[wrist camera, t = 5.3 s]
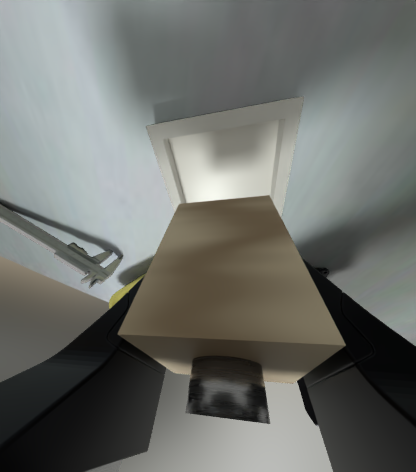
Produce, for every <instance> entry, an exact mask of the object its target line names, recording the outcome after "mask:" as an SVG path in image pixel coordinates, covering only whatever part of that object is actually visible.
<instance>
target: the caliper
mask: <svg viewBox="0 0 416 472" xmlns="http://www.w3.org/2000/svg"><path fill="white" fill-rule="evenodd" d="M0 222H2V223H3V224H5V225H7V226H8V227H10V228H12V229H14V230H15V231H17V232H19V233H20V234H22V235H24V236H25V237H27V238H29V239H30V240H32V241H34V242H35V243H37V244H39V245H41V246H42V247H44V248H46V249H47V250H49V251H51V252H52V253H54V258H56V259H57V260H59V261H61V262H62V263H64V264H66V265H67V266H69V267H70V268H72V269H74V270H75V271H77V272H79V273H80V274H82V275H84V276H85V275H86V274H89V275H87V276H86V277H85V278H83V279H82V280H81V284H83V283H86V282H89V281H90V280H91V282H90V285H89V289H90V288H91V287H92V286H93V285H94V284H95V283H99V284H102V283H103V282H104V281H105V280H106V279H108V278H109V277H110V276H111V275H112V274H113V273H114V271H115V270H116V268H117V267H118V265H119V264H120V262H121V260H122V256H119V257H118V258H117V259H116V260H114V261H113V262H112V263H111V264H109V265H108V266H107V267H105V268H103V267H102V266H100V264H101V263H102V262H104V261H105V260H106V259H107V258H109V256H111V255H112V253H113V251H111V250H109V251H106V252H103V253H101V254H98V255H96V256H93V257H90V256H89V255H87V254H88V253H87V252H86V251H85V250H84V249H83V248H81V247H79V246H77V244H75V243H71V244H69V245H66V244H65V243H63V242H61V241H60V240H58V239H57V238H55V237H53V236H52V235H50V234H48V233H47V232H45V231H43V230H42V229H40V228H39V227H37V226H35V225H34V224H32V223H30V222H29V221H27V220H26V219H24V218H22V217H21V216H19V215H18V214H16V213H14V212H13V211H11V210H9V209H8V208H6V207H5V206H3V205H1V204H0Z"/></svg>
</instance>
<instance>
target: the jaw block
mask: <svg viewBox="0 0 416 472" xmlns="http://www.w3.org/2000/svg"><path fill="white" fill-rule="evenodd" d="M118 335H119V336H121V337H122V338H124V339H125V340H127V341H128V342H130V343H131V344H133V345H134V346H135V347H137V348H138V349H140V350H141V351H143V352H144V353H146V354H147V355H149V356H150V357H152V358H153V359H155V360H156V361H157V362H159V363H160V364H162V365H163V366H165V367H166V368H168V369H169V370H171V371H172V372H174V373H178V374H188V375H190V383H189V391H188V398H187V406H186V413H190V414H198V415H206V416H213V417H221V418H229V419H236V420H244V421H252V422H260V423H267V424H270V419H269V412H268V405H267V398H266V391H265V384H264V381H267V382H279V383H290V384H293V383H294V382H296V381H297V380H299V379H300V378H302V377H303V376H304V375H306V374H307V373H309V372H310V371H311V370H313V369H314V368H315V367H317V366H318V365H320V364H321V363H322V362H324V361H325V360H327V359H328V358H329V357H331V356H332V355H333V354H335V353H336V352H338V351H339V350H340V349H342V348H343V347H344V346H346V344H345V342H344V340H343V338H342V336H341V334H340V333H339V331H338V329H337V327H336V325H335V323H334V321H333V319H332V317H331V315H330V313H329V311H328V309H327V307H326V305H325V303H324V301H323V299H322V297H321V295H320V293H319V291H318V289H317V287H316V285H315V284H314V282H313V280H312V278H311V276H310V274H309V272H308V270H307V268H306V266H305V264H304V262H303V260H302V258H301V256H300V254H299V252H298V250H297V248H296V246H295V244H294V242H293V240H292V238H291V236H290V235H289V233H288V231H287V229H286V227H285V225H284V223H283V221H282V219H281V217H280V215H279V213H278V211H277V209H276V207H275V205H274V203H273V201H272V199H271V197H270V195H266V196H255V197H245V198H235V199H224V200H214V201H203V202H193V203H182V204H179V205H178V207H177V209H176V211H175V213H174V216H173V218H172V220H171V222H170V224H169V226H168V228H167V230H166V232H165V235H164V237H163V239H162V241H161V243H160V245H159V247H158V249H157V252H156V254H155V256H154V258H153V260H152V262H151V264H150V266H149V268H148V271H147V273H146V275H145V277H144V279H143V281H142V283H141V285H140V287H139V290H138V292H137V294H136V296H135V298H134V300H133V302H132V304H131V307H130V309H129V311H128V313H127V315H126V317H125V319H124V321H123V323H122V326H121V328H120V330H119V332H118Z"/></svg>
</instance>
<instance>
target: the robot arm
mask: <svg viewBox="0 0 416 472" xmlns="http://www.w3.org/2000/svg"><path fill="white" fill-rule="evenodd" d="M301 258H302V257H301ZM302 260H303V262H304V264H305V266H306V268H307V270H308V272H309V274H310V276H311V278H312V280H313V282H314V284H315V285H316V287H317V289H318V291H319V293H320V295H321V297H322V299H323V301H324V303H325V305H326V307H327V309H328V311H329V313H330V315H331V317H332V319H333V321H334V323H335V325H336V327H337V329H338V331H339V333H340V334H341V336H342V338H343V340H344V342H345V344H346V346H344V347H343V348H342V349H340V350H339V351H338V352H336V353H335V354H333V355H332V356H331V357H329V358H328V359H327V360H325V361H324V362H322V363H321V364H320V365H318V366H317V367H315V368H314V369H313V370H311V371H310V372H309V373H307V374H306V375H304V376H303V377H302V378H300V379H299V380H297V382H298V385H299V389H300V392H301V395H302V399H303V402H304V406H305V409H306V411H307V413H308V415H309V416H310V418H311V419H312V421H313V422H314V424H315V425H316V426H319V428H320V431H321V434H322V438H323V440H324V444H325V447H326V450H327V453H328V456H329V460H330V462H331V466H332V469H333V472H416V346H414V345H413V344H412V343H410V342H409V341H407V340H406V339H405V338H403V337H402V336H401V335H399V334H398V333H396V332H395V331H394V330H392V329H391V328H389V327H388V326H387V325H385V324H384V323H383V322H381V321H380V320H379V319H377V318H376V317H375V316H373V315H372V314H370V313H369V312H368V311H367V310H365V309H364V308H363V307H362V306H360V305H359V304H358V303H357V302H355V301H354V300H353V299H352V298H350V297H349V296H348V295H347V294H345V293H344V292H343V293H342V290H340V289H339V288H338V287H337V286H336V285H334V284H333V283H332V282H331V281H330V280H328V279H327V278H326V277H327V275H328V273H329V271H328V269H326V268H322V269H315V268H314V267H312V266H311V265H310V264H309V263H308V262H306V261H305V260H304V259H303V258H302ZM145 275H146V274H145ZM145 275H144V276H143V277H142V278H141V279H140V280H139V281H138V282H137V283H136V284H135V285H134V286H133V287H132V288H131V289H130V290H129V291H128V292H127V293H126V294H125V295H124V296H123V297H122V298H121V299H120V300H119V301H118V302H117V303H116V304H115V305H113V306H112V307H111V308H110V309H109V310H108V311H107V312H106V313H105V314H104V315H102V316H101V317H100V318H99V319H98V320H97V321H96V322H94V323H93V324H92V325H91V326H90V327H89V328H87V329H86V330H85V331H84V332H83V333H82V334H80V335H79V336H78V337H77V338H76V339H75V340H73V341H72V342H71V343H70V344H69V345H67V346H66V347H65V348H64V349H62V350H61V351H60V352H58V353H57V354H55V355H54V356H52V357H51V358H49V359H47V360H46V361H44V362H42V363H40V364H38V365H36V366H34V367H32V368H30V369H27V370H26V371H23V372H21V373H19V374H17V375H15V376H13V377H11V378H9V379H7V380H5V381H2V382H0V472H119V468H120V465H121V462H122V459H125V458H128V457H131V456H134V455H137V454H140V453H143V452H147V450H148V447H149V443H150V438H151V434H152V429H153V425H154V420H155V416H156V411H157V407H158V402H159V398H160V393H161V389H162V384H163V380H164V374H165V370H166V367H165V366H163V365H162V364H160V363H159V362H157V361H156V360H155V359H153V358H152V357H150V356H149V355H147V354H146V353H144V352H143V351H141V350H140V349H138V348H137V347H135V346H134V345H133V344H131V343H130V342H128V341H127V340H125V339H124V338H122V337H121V336H119V335H118V332H119V330H120V328H121V326H122V323H123V321H124V319H125V317H126V315H127V313H128V311H129V309H130V307H131V304H132V302H133V300H134V298H135V296H136V294H137V292H138V290H139V287H140V285H141V283H142V281H143V279H144V277H145Z"/></svg>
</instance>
